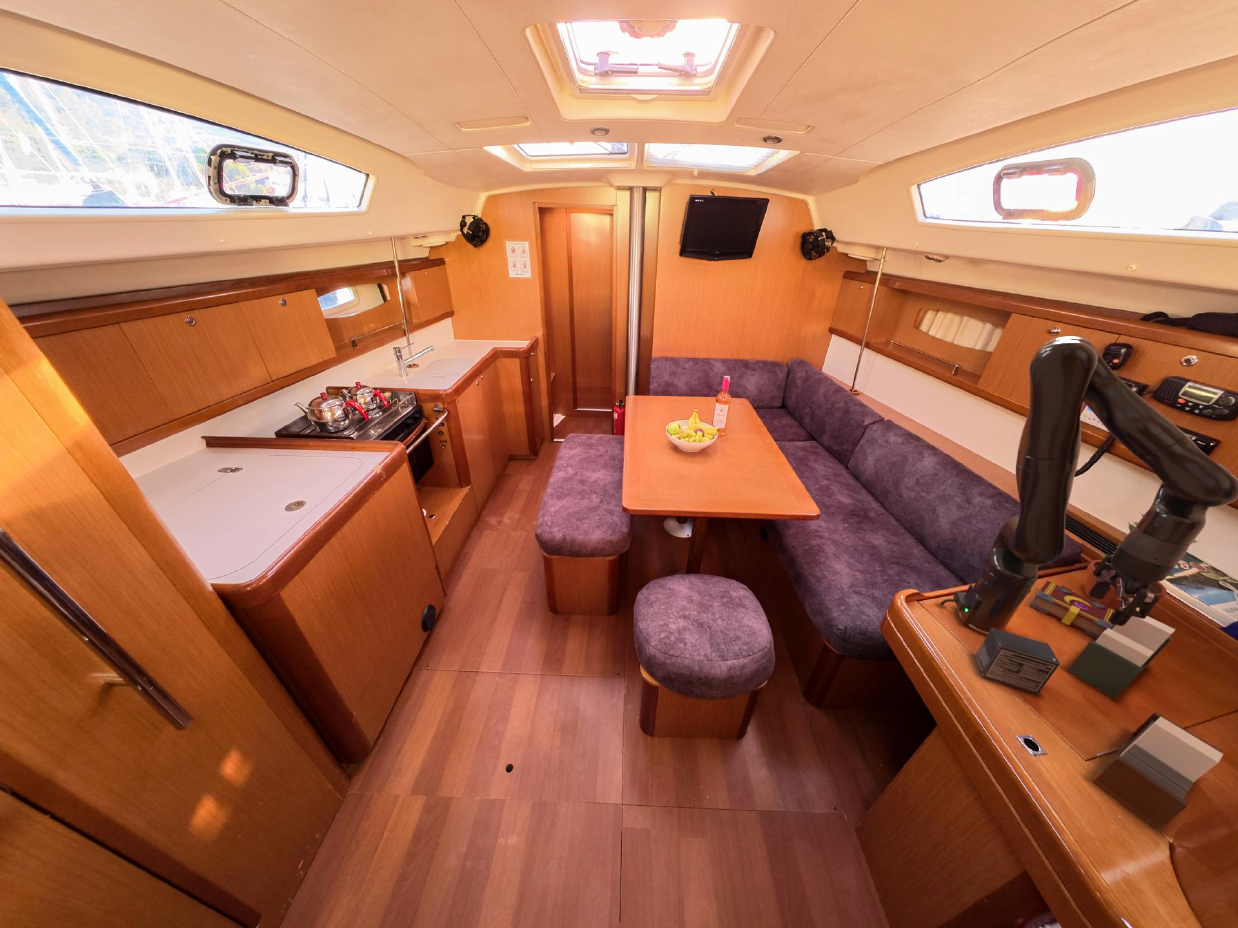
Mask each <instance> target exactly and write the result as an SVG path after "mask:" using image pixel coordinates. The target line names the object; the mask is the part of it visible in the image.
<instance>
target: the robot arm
mask: <svg viewBox="0 0 1238 928" xmlns="http://www.w3.org/2000/svg"><path fill="white" fill-rule="evenodd" d="M1028 365H1029V366H1028V372H1029V405H1028V406H1029V407H1028V413H1027V416H1026V419H1025V421H1024V425H1023V428H1022V432H1021V436H1020V439H1019V443H1018V447H1017V454H1016V462H1015V479H1016V487H1017V493H1018V499H1019V514H1018V515H1015V516H1012V517H1011V518H1009V519H1008V520H1007V521H1006V522H1004V524H1003V525H1002V526H1001V528H1000V530H999V531H998V532H997V535H996V537H995V539H994V541H993V543H992V546H991V547H990V550H989V553H988V560H987V562H986V564H985V565H984V567H983V569H982V570H981V573H980V574H979V576H978V578H977V580H976V581H975V584H971V583H970V585H968V587H967V589H966V590H965V592H963V591H959V590H956V591H955V592H954V594H953V596H952V598H947V599H943V600H942V601H941V602H940V603H939V605H940V606H941V607H942V606H944V605H945V604H946V603H955V605H956V608H955V609H956V613H957V615H958V617H959V619H960V622H961V625H962V626H965V627H968V628H970V629H971V630H973V631H975V632H977V633H979V634H981V635H984V636H987V635H988V633H989V632H990V630H991V628H995V629H998V630H1002V631H1005V629H1006V628H1007V626H1008V624H1009V623H1010V621H1011V620H1012V618H1013V617H1014V616H1015V614H1016V613H1017V611H1018V610H1019V608H1020V606H1021V604H1022V603H1023V602H1024V600H1025V598H1026V597H1027V595H1028V594H1029V592H1031V589H1032V588H1033V586H1034V584H1035V583H1036V582H1037V580H1038V578H1039V566H1047V565H1049V564H1052V563H1053V562H1055V561H1057V560H1058V559H1059V558H1060V557H1061V556H1062V555H1063V553H1064V551H1065V548H1066V517H1067V511H1068V510H1067V509H1068V505H1069V502H1070V498H1071V494H1072V489H1073V485H1074V479H1075V475H1076V472H1077V469H1078V468H1077V467H1078V463H1079V458H1080V453H1081V445H1082V443H1081V442H1082V427H1081V426H1082V425H1081V411H1082V406H1083V403H1084V405H1086V407H1088V409H1089V410H1090V411H1091V412H1092V414H1094V415H1095V417H1096V418H1097V419H1098V420H1099V422H1100V423H1101V424H1102V425H1103V426H1104V428H1105V429H1106V430H1107V431H1108V432H1109V433H1110V434H1111V435H1112V436H1113V437H1114V439H1116V441H1118V442H1119V443H1120V444H1121V445H1122V446H1123V447H1124V448H1126V449H1127V450H1128V452H1129V453H1131V454H1132V455H1133V456H1135V457H1136V458H1137V459H1138V460H1139V461H1141V462H1142V463H1144V464H1145V465H1146V466H1147V467H1148V468H1150V470H1152V472H1153V473H1154V474H1155V475H1156V476H1157V477H1158V478H1159V479H1160V480H1161V483H1160V485H1159V487H1158V490H1157V492H1156V494H1155V496H1154V500H1153V501H1152V504H1151V505H1150V507H1149V508H1148V510H1147V511H1146V512H1145V513H1144V514H1143V515H1144V516H1141V519H1140V520H1139V521H1138V522H1137V523H1138V524H1137V525H1135V528H1134V529H1133V530H1132V531H1131V532H1130V531H1129V532H1130V533H1129V532H1128V533H1127V535H1125V536H1124V537H1125V538H1124V539H1123V540H1122V541H1121V543H1120V546H1119V545H1118V546H1119V547H1118V549H1117V548H1116V550H1115V553H1113V554H1112V555H1110V554H1107V555H1106V556H1105V557H1104V556H1103V558H1102V559H1101V560H1102V561H1101V562H1100V564H1099V565H1098V566H1097V568H1096V569H1095V570H1094V571H1093V575H1094V576H1096V577H1097V578H1096V579H1095V582H1096V584H1095V585H1094V586H1093V588H1092V589H1091V591H1090V592H1089V595H1090V597H1092V598H1096V599H1103V598H1104V597H1105V595H1106V594H1107V593H1108V591H1109V590H1110V589H1111V587H1110V586H1113V587H1115V589H1116V591H1117V593H1116V598H1117V599H1118V600H1119V604H1118V608H1116V610H1115V611H1114V612H1113V614H1112V615H1111V616H1110V617H1109V619H1108V621H1109V622H1110V623H1111V624H1115V625H1119V626H1124V625H1125V624H1126V622H1128V621H1129V619H1130V618H1131V617H1132V616H1134V617H1138V618H1141V619H1145V618H1146V616H1148V615H1149V614H1150V612H1151V611H1152V610H1153V609H1154V607H1155V606H1156V605H1157V603H1158V602H1159V601H1160V600H1161V599H1160V597H1159V595H1156V594H1153V593H1151V592H1150V591H1149V586H1150V584H1151V583H1153V582H1162V581H1164V580H1165V579H1166V578H1167V577H1169V576H1168V574H1169V573H1170V572H1171V573H1172V571H1173V570H1174V568H1175V567H1176V566H1177V565H1178V564H1179V562H1180V560H1181V559H1183V557H1185V555H1186V553H1187V551H1188V550H1189V547H1190V546H1191V545H1192V544H1193V543H1192V542H1193V541H1194V540H1196V539H1197V537H1198V536H1199V535H1200V534H1201V533H1202V531H1203V530H1204V528H1205V526H1206V524H1207V517H1206V515H1207V512H1208V510H1209V509H1210V508H1217V507H1223V506H1226V505H1229V504H1231V503H1234V502H1236V500H1237V499H1238V478H1237V477H1236V476H1235V475H1234V474H1233V473H1232V472H1231V470H1230V469H1228V468H1227V467H1226V466H1224V465H1223V464H1221V463H1219V462H1216V461H1215V460H1214V459H1212V458H1211V457H1210V456H1208V455H1207V454H1206V453H1205V452H1204V451H1202V450H1201V449H1200V448H1199V447H1198V446H1197V445H1196V442H1194V441H1193V439H1191V437H1190V436H1188V435H1187V434H1186V433H1185V432H1184V431H1183V430H1181V428H1179V427H1178V426H1177V425H1175V424H1174V423H1173V422H1172V421H1171V420H1170V419H1168V417H1166V415H1164V414H1162V413H1161V412H1160V411H1158V410H1157V409H1156V408H1155V407H1154V406H1153V405H1151V404H1150V403H1149V402H1147V400H1145V399H1143V397H1141V396H1140V395H1139V394H1137V392H1135V391H1134V390H1133V389H1131V387H1129V386H1128V385H1127V384H1126V382H1124V381H1123V380H1122V379H1121V378H1120V377H1119V376H1118V375H1117V374H1116V373H1115V372H1114V371H1113V370H1112V368H1111V367H1110V366H1109V365H1108V364H1107V362H1106V361H1105V359H1104V357H1102V355H1101V354H1100V353H1099V351H1098V349H1097V347H1096V345H1095V344H1094V343H1093V342H1092V341H1090V340H1089V339H1088V338H1087V339H1086V338H1085V337H1081V336H1076V335H1073V336H1072V335H1066V336H1058V337H1055V338H1052V339H1050V340H1048V341H1046V342H1044V343H1043V344H1042V345H1040V347H1038V349H1036V351H1035V353H1034V354H1033V356H1032V358H1031V359H1030V362H1029V364H1028ZM1191 543H1192V544H1191ZM1109 555H1110V556H1109ZM1181 561H1182V560H1181ZM1103 570H1108V571H1107V572H1106V573H1104V572H1102V571H1103ZM1124 594H1125V595H1129V596H1135V597H1134V598H1133V599H1132V598H1128V597H1126V596H1125V595H1124ZM1090 597H1089V598H1090ZM1159 599H1160V600H1159ZM1127 601H1128V602H1130V604H1129V605H1128V607H1126V602H1127ZM1139 608H1140V609H1139Z"/></svg>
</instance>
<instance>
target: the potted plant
mask: <svg viewBox="0 0 1238 928" xmlns="http://www.w3.org/2000/svg"><path fill="white" fill-rule="evenodd" d="M1140 515H1141V517H1143V516H1144V514H1143V513H1140ZM1127 523H1128V530H1129V532H1128V534H1129V533H1130V532H1131V531H1132V530H1133V529H1134V528H1135V527H1136V525H1137V524H1138V523H1139V522H1136V521H1133V524H1131V523H1130V521H1127ZM1125 537H1126V536H1123V538H1124V539H1125ZM1195 543H1198V541H1197V540H1196V539H1194V541H1193V542H1192V543H1191V544H1190V545H1192V544H1195ZM1118 544H1119V545H1117V546H1116V550H1117V549H1118V547H1119V546H1120V544H1121V543H1120V542H1118ZM1116 550H1115V551H1116ZM1115 551H1113V552H1112V551H1111V553H1113V554H1114V553H1115ZM1098 554H1099V555H1101V556H1103V558H1104V557H1105V556H1106V555H1109V556H1111V555H1110V554H1108V553H1107V554H1106V553H1100V552H1098ZM1102 560H1103V559H1094V560H1092V561H1091V562H1090V563H1089V564H1088V566H1087V567H1086V571H1087V577H1086V582H1085V586H1084V593H1085V594H1086V596H1088V597H1089V599H1090V600H1093V601H1094V600H1096V601H1098V602H1101V603H1103V604H1105V606H1106V607H1108V608H1111V609H1113V610H1116V608H1118V604H1119V600H1118V599H1117V598H1116V593H1117V591H1116V589H1115V587H1113V586H1110V587H1111V589H1110V590H1109V591H1108V593H1107V594H1106V595H1105V597H1104V598H1103V599H1096V598H1092V597H1090V595H1089V592H1090V591H1091V589H1092V588H1093V586H1094V585H1095V584H1096V582H1095V579H1096V578H1097V577H1096V576H1094V575H1093V571H1094V570H1095V569H1096V568H1097V566H1098V565H1099V564H1100V562H1101V561H1102ZM1189 560H1190V559H1189V558H1182V559H1181V560H1180V561H1189ZM1180 561H1179V562H1180ZM1107 571H1108V570H1103V571H1102V572H1104V573H1106V572H1107ZM1167 577H1173V578H1176V576H1175V575H1174V574H1173V572H1172V571H1171V572H1170V573H1169V574H1168V576H1167ZM1177 579H1179V576H1177ZM1149 591H1150V592H1151V593H1153V594H1156V595H1159V597H1160V599H1159V600H1158V601H1160V600H1162V599H1163V598H1164V597H1165V595H1166V594H1167V593H1168V592H1167V587H1166V586H1164V585H1163V583H1161V581H1159V582H1153V583H1151V584H1150V586H1149ZM1124 595H1125V594H1124ZM1125 596H1126V597H1128V598H1132V599H1133V598H1134V597H1135V596H1129V595H1125ZM1129 604H1130V602H1128V601H1127V602H1126V607H1128V605H1129ZM1139 610H1141V608H1139Z"/></svg>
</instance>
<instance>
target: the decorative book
mask: <svg viewBox="0 0 1238 928" xmlns="http://www.w3.org/2000/svg"><path fill="white" fill-rule="evenodd" d="M1072 590H1073V589H1071V588H1068V587H1066V586H1064V585H1059V584H1056V583H1054V582H1052V581H1049V580H1046V581H1045V583H1044V584H1043V586H1042V587H1041V589H1039V590H1038V591H1037V593H1036V594H1035V595H1034V598H1033V599H1032V600H1031V602H1030V603H1029V606H1030V607H1031V608H1034V609H1035V610H1038V611H1040V612H1042V613H1044V614H1046V615H1050V616H1052V617H1054V618H1056V619H1058V620H1060V622H1061V623H1063V624H1064V625H1067V626H1073V627H1074V628H1077V629H1078V630H1081V631H1083V632H1084V633H1085V634H1087V635H1090V636H1091V637H1093V638H1095V639H1096V640H1097V639H1098V638H1099V637H1100V635H1101V634H1102V633H1103V632H1104V631H1105V630H1106V629H1108V628H1109V629H1110V628H1111V627H1112V626H1113V625H1114V624H1111V623H1110V622H1109V621H1108V619H1109V617H1110V616H1111V615H1112V614H1113V612H1114V611H1115V610H1113V609H1111V608H1108V607H1106V606H1105V604H1103V603H1101V602H1098V601H1096V600H1093V599H1091V598H1088V597H1086V596H1083V595H1081V594H1079V593H1077V592H1074V591H1072Z"/></svg>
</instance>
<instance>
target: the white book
mask: <svg viewBox="0 0 1238 928" xmlns="http://www.w3.org/2000/svg"><path fill="white" fill-rule="evenodd" d="M1133 744H1136V745H1137V746H1139V747H1140V748H1142V749H1143V750H1145V751H1146V752H1148V753H1149V754H1151V755H1152V756H1154V757H1155V758H1157V759H1158V760H1160V761H1161V762H1163V763H1164V764H1166V765H1167V766H1169V767H1170V768H1172V769H1174V770H1175V771H1177V772H1178V773H1180V774H1181V775H1183V776H1184V777H1186V778H1187V779H1189V780H1190V781H1192V782H1193V783H1195V782H1196V781H1197V780H1199V779H1200V778H1201V777H1202V776H1204V775H1205V774H1207V772H1209V771H1211V770H1212V769H1213V768H1214V767H1215V766H1216V765H1218V764H1219V763H1220V761H1221V760H1222V757H1223V756H1224V753H1223V752H1222V751H1221V752H1219V751H1217V750H1216V749H1214V748H1212V747H1211V746H1209V745H1207V744H1206V743H1204V742H1202V741H1201V740H1199V739H1197V738H1196V737H1194V736H1192V735H1191V734H1189V733H1187V732H1186V731H1184V730H1182V729H1181V728H1179V727H1177V726H1176V725H1174V724H1172V723H1171V722H1169V721H1167V720H1166V719H1164V718H1162V717H1160V718H1159V719H1158V720H1156V721H1155V722H1154V723H1153V724H1152V725H1151V726H1150V727H1149V728H1148V729H1147V730H1146V731H1145V732H1144V733H1143V734H1142V735H1141V736H1140V737H1139V738H1138V739H1136V740H1135V741H1134V742H1133V743H1132V744H1131V745H1130V746H1129V747H1128V748H1127V749H1126V750H1125V751H1124V752H1123V753H1122V754H1121V755H1120V756H1122V755H1123V754H1124V753H1125V752H1126V751H1127V750H1128V749H1129V748H1130V747H1131V746H1132V745H1133Z"/></svg>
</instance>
